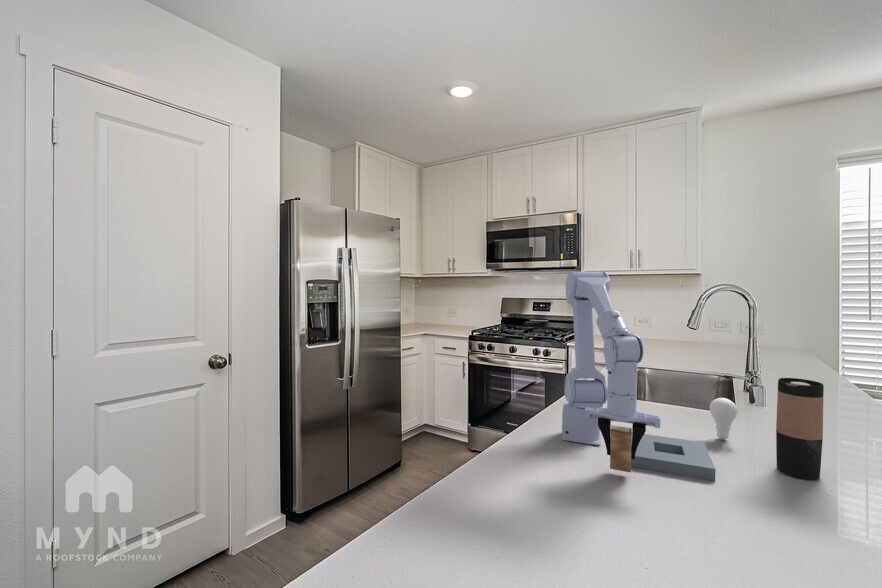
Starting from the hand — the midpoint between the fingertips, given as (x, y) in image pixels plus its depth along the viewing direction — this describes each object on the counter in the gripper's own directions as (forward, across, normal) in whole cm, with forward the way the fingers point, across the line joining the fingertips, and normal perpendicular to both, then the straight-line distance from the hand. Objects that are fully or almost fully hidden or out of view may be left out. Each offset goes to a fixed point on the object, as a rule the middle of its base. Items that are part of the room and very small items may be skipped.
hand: (620, 455), depth 88 cm
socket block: (+4, +10, +14) cm, 18 cm away
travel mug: (+5, +35, +18) cm, 40 cm away
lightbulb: (+5, +24, +34) cm, 42 cm away
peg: (+2, 0, 0) cm, 2 cm away
